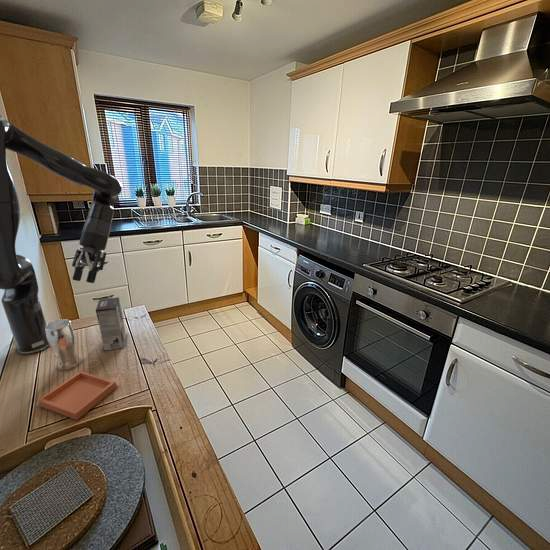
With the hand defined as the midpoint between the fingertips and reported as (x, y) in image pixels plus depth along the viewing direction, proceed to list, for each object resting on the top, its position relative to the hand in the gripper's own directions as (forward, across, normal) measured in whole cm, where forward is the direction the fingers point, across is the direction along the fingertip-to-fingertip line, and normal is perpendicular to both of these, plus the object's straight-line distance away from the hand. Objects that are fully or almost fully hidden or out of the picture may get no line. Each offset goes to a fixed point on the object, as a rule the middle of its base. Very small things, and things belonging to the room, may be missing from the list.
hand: (83, 281), depth 94 cm
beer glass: (+27, -3, +4) cm, 28 cm away
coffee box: (+20, -2, +17) cm, 26 cm away
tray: (+32, +14, 0) cm, 35 cm away
